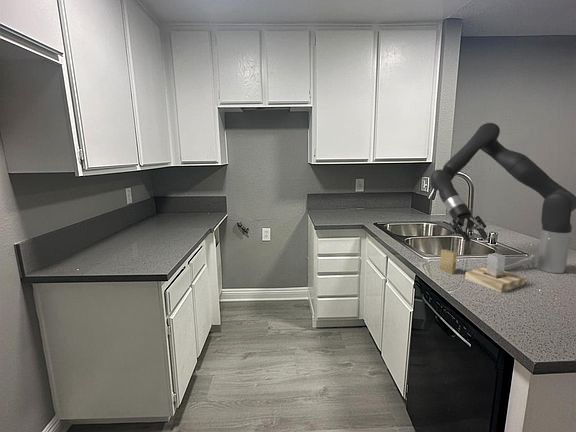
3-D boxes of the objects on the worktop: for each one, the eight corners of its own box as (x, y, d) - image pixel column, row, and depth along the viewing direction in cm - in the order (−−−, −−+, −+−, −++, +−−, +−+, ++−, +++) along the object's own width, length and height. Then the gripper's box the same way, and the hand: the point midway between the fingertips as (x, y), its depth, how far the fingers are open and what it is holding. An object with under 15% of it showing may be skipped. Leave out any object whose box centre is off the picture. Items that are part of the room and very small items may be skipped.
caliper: (532, 268, 134) (534, 254, 133) (535, 268, 133) (536, 255, 132) (491, 272, 131) (493, 258, 130) (493, 273, 130) (495, 258, 129)
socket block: (487, 272, 129) (488, 266, 129) (524, 284, 117) (525, 277, 116) (465, 279, 124) (465, 272, 123) (501, 292, 111) (501, 284, 111)
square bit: (492, 279, 123) (495, 253, 121) (502, 282, 119) (505, 256, 117) (485, 280, 122) (488, 254, 120) (494, 284, 118) (497, 257, 116)
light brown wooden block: (442, 268, 135) (444, 249, 134) (455, 273, 130) (456, 253, 128) (439, 269, 135) (441, 249, 133) (451, 274, 129) (453, 253, 127)
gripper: (465, 211, 140) (485, 241, 132) (438, 214, 137) (457, 246, 128) (475, 201, 134) (497, 232, 126) (448, 204, 131) (468, 237, 122)
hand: (477, 239), depth 127 cm, fingers open, 8 cm apart
